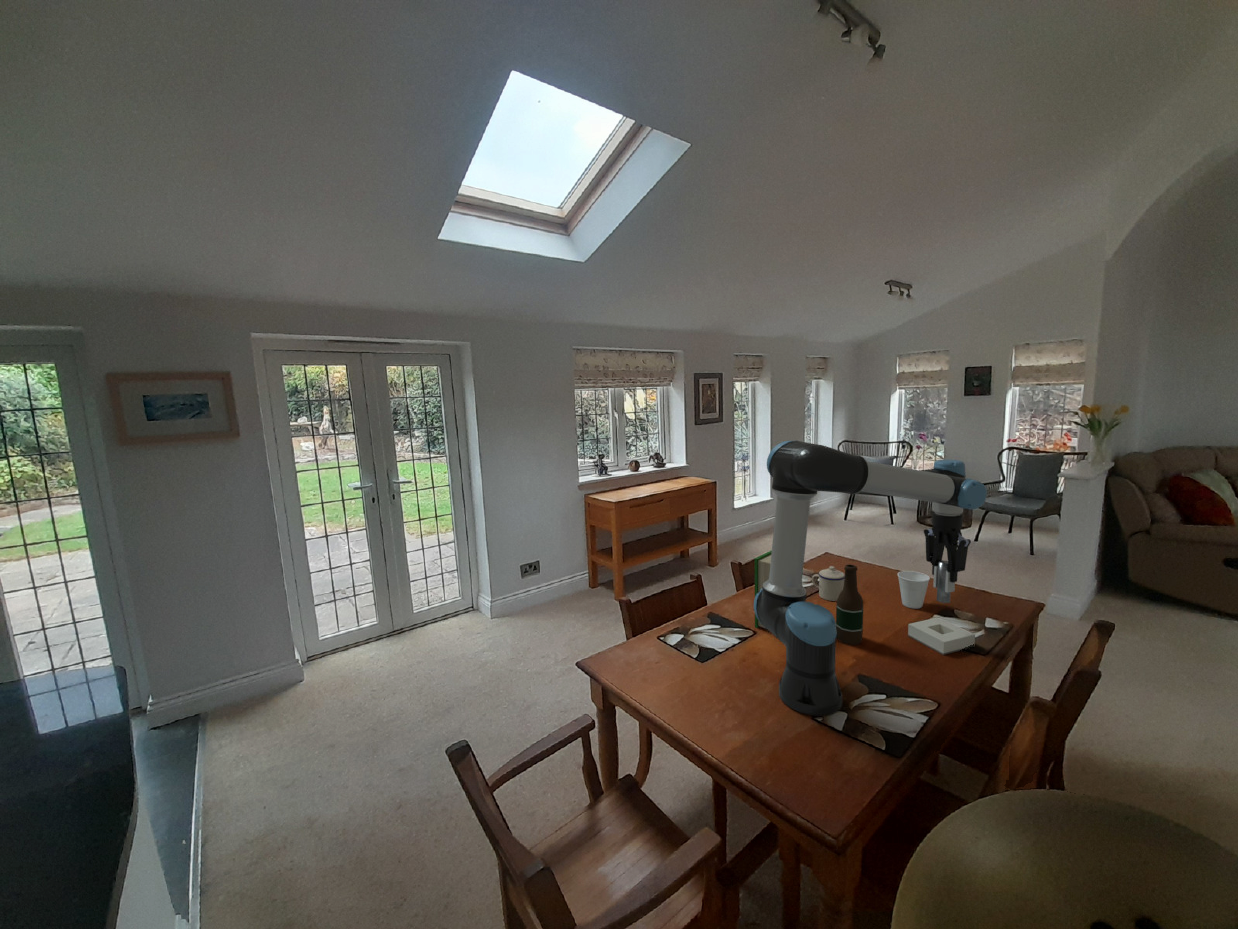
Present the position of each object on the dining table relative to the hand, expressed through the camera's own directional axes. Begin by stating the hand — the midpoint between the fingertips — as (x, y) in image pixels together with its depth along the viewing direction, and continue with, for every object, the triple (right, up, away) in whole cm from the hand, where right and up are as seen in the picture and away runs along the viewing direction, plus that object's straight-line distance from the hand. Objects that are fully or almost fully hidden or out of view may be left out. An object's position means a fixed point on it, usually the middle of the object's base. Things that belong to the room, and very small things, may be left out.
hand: (943, 588), depth 147 cm
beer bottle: (-25, -18, +7) cm, 32 cm away
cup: (+7, -13, +27) cm, 31 cm away
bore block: (+1, -17, +3) cm, 17 cm away
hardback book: (-43, -16, +20) cm, 50 cm away
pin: (0, -4, +1) cm, 4 cm away
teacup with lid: (-18, -13, +39) cm, 45 cm away
